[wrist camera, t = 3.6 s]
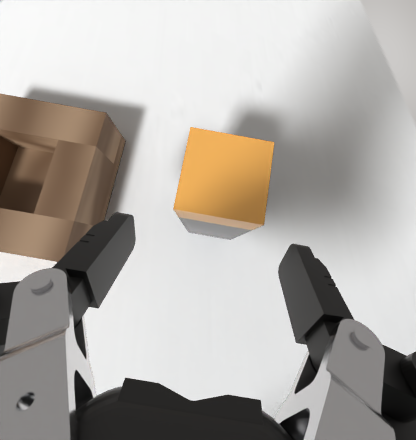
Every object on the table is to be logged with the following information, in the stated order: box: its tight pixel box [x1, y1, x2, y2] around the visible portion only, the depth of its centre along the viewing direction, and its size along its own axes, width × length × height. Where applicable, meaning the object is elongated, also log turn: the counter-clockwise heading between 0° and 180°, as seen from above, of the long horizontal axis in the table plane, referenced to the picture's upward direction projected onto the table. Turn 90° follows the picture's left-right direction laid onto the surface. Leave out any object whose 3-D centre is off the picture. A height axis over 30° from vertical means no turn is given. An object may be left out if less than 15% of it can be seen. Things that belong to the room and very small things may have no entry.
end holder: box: [0, 94, 125, 262], centre depth 16 cm, size 12×12×4 cm
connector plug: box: [173, 127, 274, 240], centre depth 14 cm, size 4×4×10 cm
